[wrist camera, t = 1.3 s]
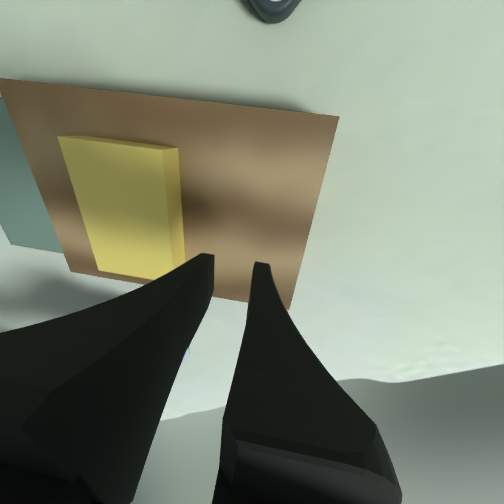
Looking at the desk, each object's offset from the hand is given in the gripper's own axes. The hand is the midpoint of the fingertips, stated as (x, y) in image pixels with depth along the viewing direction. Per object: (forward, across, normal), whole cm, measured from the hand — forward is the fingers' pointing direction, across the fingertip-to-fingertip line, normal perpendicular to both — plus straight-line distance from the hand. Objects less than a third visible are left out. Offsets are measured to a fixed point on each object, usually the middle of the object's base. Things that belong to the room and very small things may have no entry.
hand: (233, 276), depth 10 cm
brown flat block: (+10, +6, 0) cm, 12 cm away
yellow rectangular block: (+6, +8, 0) cm, 10 cm away
